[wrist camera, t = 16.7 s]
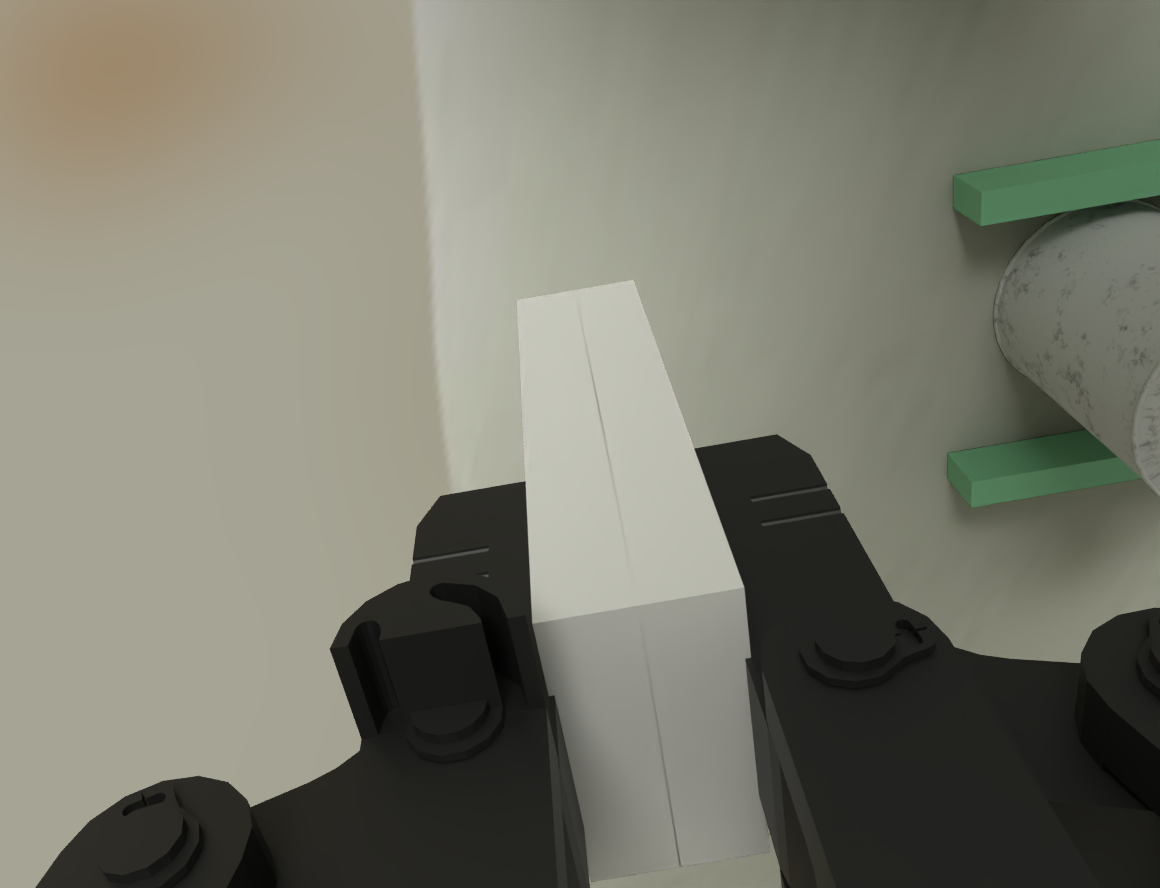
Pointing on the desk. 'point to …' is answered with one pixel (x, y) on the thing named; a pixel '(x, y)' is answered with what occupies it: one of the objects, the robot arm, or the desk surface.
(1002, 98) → the desk surface
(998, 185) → the green angular frame
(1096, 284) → the speckled concrete drum
